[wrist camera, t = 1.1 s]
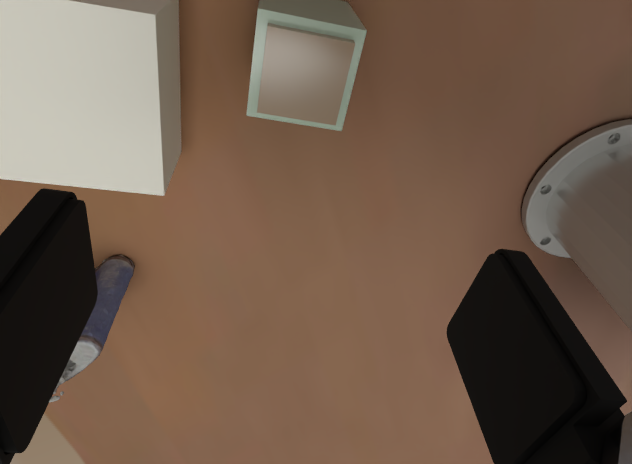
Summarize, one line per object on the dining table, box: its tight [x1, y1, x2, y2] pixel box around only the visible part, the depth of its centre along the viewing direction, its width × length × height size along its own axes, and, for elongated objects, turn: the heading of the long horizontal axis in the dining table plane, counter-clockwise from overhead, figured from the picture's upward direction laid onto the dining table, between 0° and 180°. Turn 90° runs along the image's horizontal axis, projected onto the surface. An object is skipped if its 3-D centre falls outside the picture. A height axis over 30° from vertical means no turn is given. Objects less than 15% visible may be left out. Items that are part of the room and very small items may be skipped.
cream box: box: [0, 0, 181, 196], centre depth 24 cm, size 10×10×6 cm
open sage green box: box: [246, 0, 367, 131], centre depth 23 cm, size 5×5×8 cm
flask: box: [49, 255, 134, 402], centre depth 33 cm, size 9×3×11 cm, turn 124°
